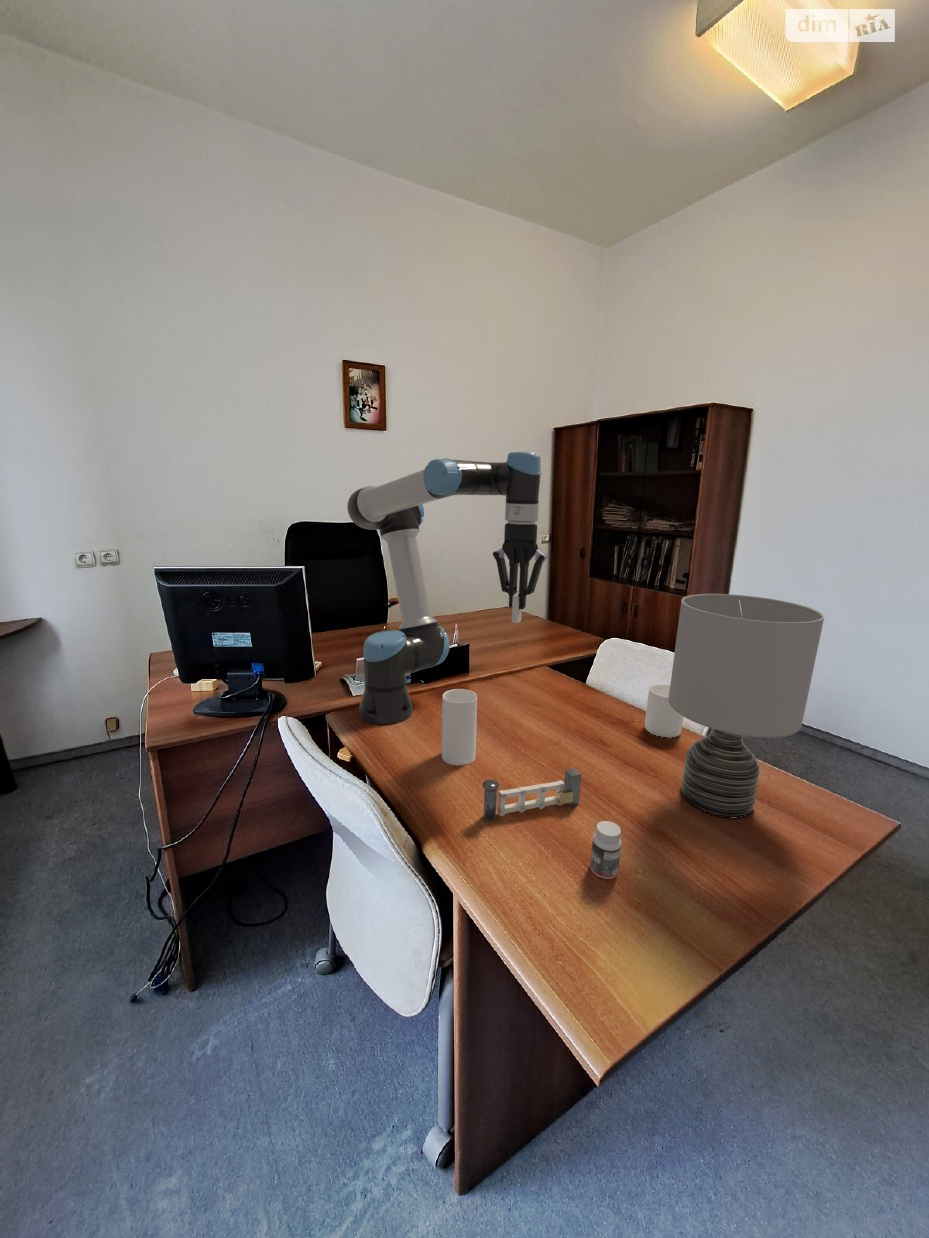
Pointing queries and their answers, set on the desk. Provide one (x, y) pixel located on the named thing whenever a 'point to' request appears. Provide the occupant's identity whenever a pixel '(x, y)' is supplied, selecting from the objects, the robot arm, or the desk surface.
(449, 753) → the cup
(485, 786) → the hinge post
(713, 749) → the lamp
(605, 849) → the pill bottle
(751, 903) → the desk surface
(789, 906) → the desk surface
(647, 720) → the mug
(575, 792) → the grey upright block
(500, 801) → the gate
